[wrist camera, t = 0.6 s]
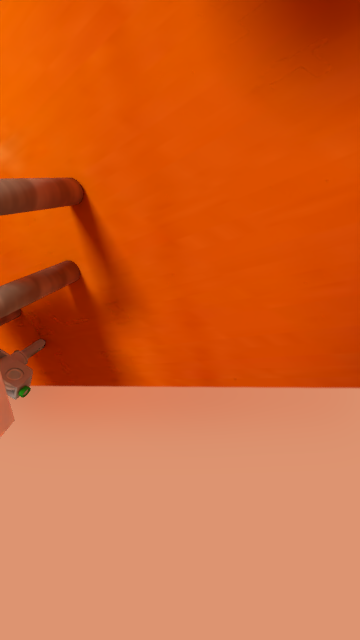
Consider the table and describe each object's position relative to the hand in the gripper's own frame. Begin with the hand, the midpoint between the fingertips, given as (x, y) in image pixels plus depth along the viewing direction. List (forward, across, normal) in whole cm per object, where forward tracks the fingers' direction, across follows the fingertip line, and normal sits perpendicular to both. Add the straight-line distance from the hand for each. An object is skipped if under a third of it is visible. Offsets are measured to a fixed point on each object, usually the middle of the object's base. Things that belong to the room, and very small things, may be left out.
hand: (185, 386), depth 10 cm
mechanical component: (+35, -25, -14) cm, 46 cm away
